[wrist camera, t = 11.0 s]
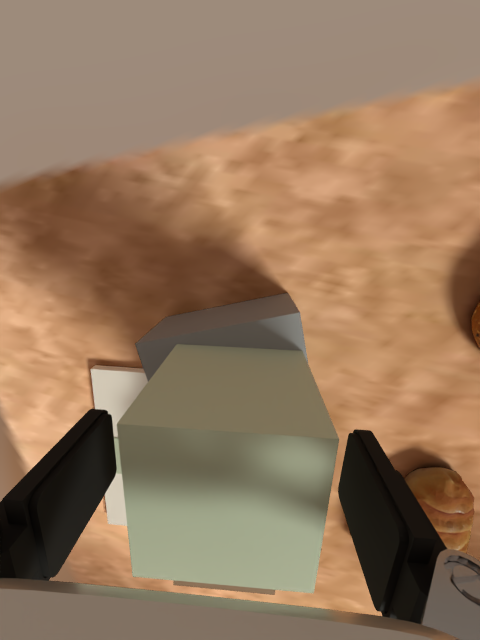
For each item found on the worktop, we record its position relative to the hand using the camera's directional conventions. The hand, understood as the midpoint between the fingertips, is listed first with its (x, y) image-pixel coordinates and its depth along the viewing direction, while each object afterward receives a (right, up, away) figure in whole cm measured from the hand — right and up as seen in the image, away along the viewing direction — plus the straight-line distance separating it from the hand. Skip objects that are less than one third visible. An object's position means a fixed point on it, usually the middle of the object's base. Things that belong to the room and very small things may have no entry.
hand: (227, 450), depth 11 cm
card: (-8, -5, +10) cm, 14 cm away
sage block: (0, +1, +3) cm, 3 cm away
